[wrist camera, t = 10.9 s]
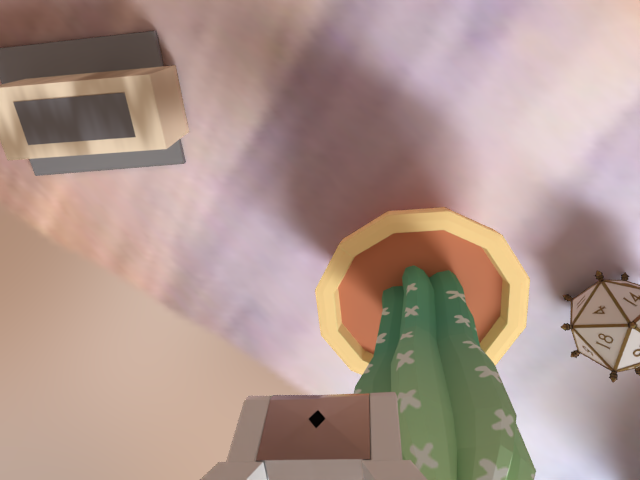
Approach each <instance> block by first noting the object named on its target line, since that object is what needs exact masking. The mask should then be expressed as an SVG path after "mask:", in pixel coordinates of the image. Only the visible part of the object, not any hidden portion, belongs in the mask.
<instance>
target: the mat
mask: <svg viewBox="0 0 640 480" xmlns="http://www.w3.org/2000/svg"><path fill="white" fill-rule="evenodd" d="M162 66H164V64H163V59H162V55H161V51H160V46H159V42H158V37H157V33H156V31H148V32H139V33H130V34H121V35H113V36H104V37H95V38H86V39H77V40H69V41H60V42H51V43H42V44H33V45H25V46H16V47H7V48H0V80H1V83H2V84H6V83H10V82H14V81H19V80H23V79H29V78H40V77H51V76H62V75H73V74H85V73H96V72H107V71H118V70H129V69H140V68H151V67H162ZM29 160H30V162H31V165H32V168H33V171H34V173H35V176H39V175H51V174H64V173H76V172H88V171H101V170H113V169H125V168H138V167H150V166H162V165H175V164H184V163H185V162H186V161H185V157H184V152H183V148H182V143H181V139H179V140H178V141H177V142H175V143H174V144H173V145H171V146H170V147H169V148H167V149H161V150H147V151H133V152H119V153H105V154H91V155H77V156H63V157H49V158H35V159H29Z"/></svg>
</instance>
